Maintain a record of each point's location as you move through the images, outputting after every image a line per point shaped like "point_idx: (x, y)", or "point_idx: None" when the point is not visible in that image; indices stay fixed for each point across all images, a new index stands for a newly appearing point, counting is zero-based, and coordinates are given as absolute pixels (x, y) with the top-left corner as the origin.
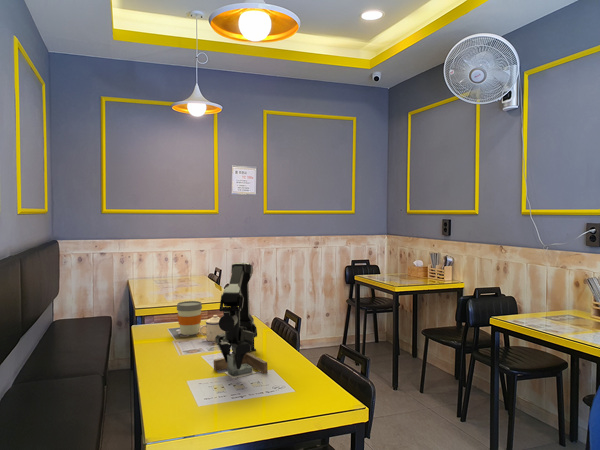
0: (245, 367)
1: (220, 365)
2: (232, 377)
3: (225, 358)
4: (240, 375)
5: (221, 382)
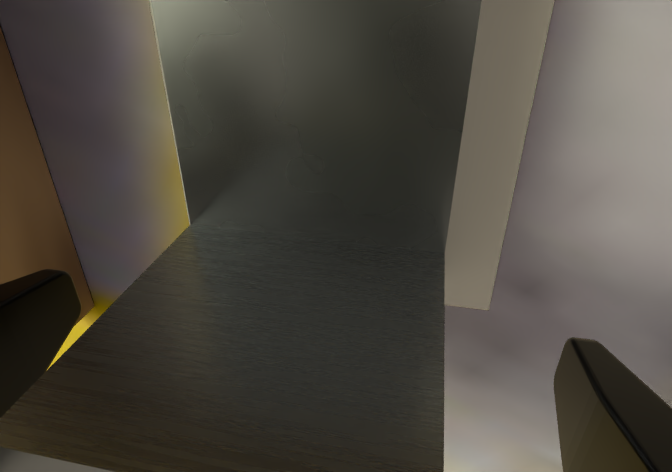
0: (400, 36)
1: None
2: (457, 305)
3: (26, 390)
4: (472, 178)
5: (485, 441)
